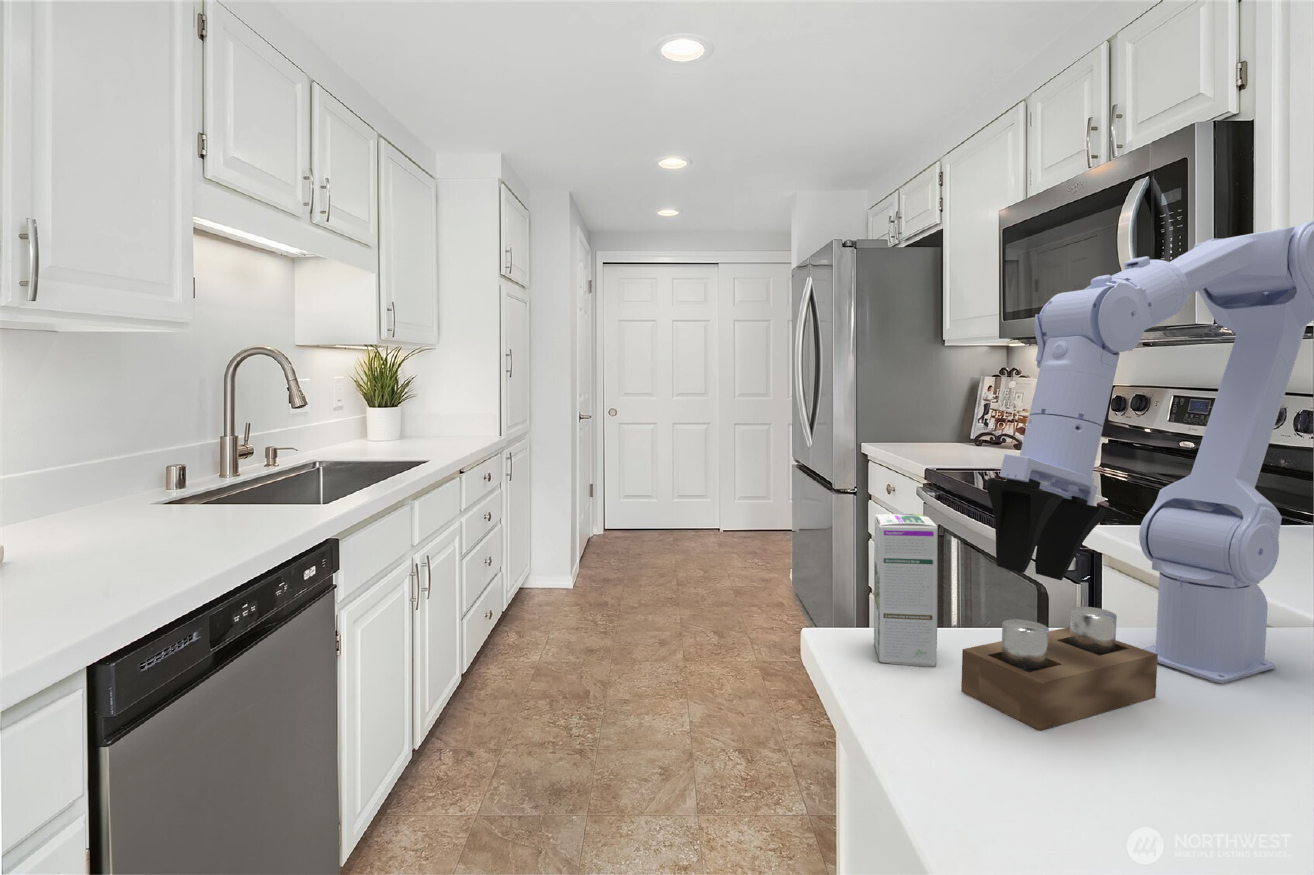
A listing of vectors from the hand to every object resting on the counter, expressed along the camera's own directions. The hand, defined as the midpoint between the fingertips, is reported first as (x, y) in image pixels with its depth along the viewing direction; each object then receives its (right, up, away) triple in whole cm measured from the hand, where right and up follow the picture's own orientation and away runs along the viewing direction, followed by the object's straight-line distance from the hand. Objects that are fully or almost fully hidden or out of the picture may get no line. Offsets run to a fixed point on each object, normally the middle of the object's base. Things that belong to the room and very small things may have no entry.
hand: (1030, 573), depth 61 cm
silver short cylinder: (+8, -8, +4) cm, 12 cm away
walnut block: (+4, -12, +3) cm, 13 cm away
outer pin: (0, -9, +1) cm, 9 cm away
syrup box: (-7, -11, +12) cm, 18 cm away
